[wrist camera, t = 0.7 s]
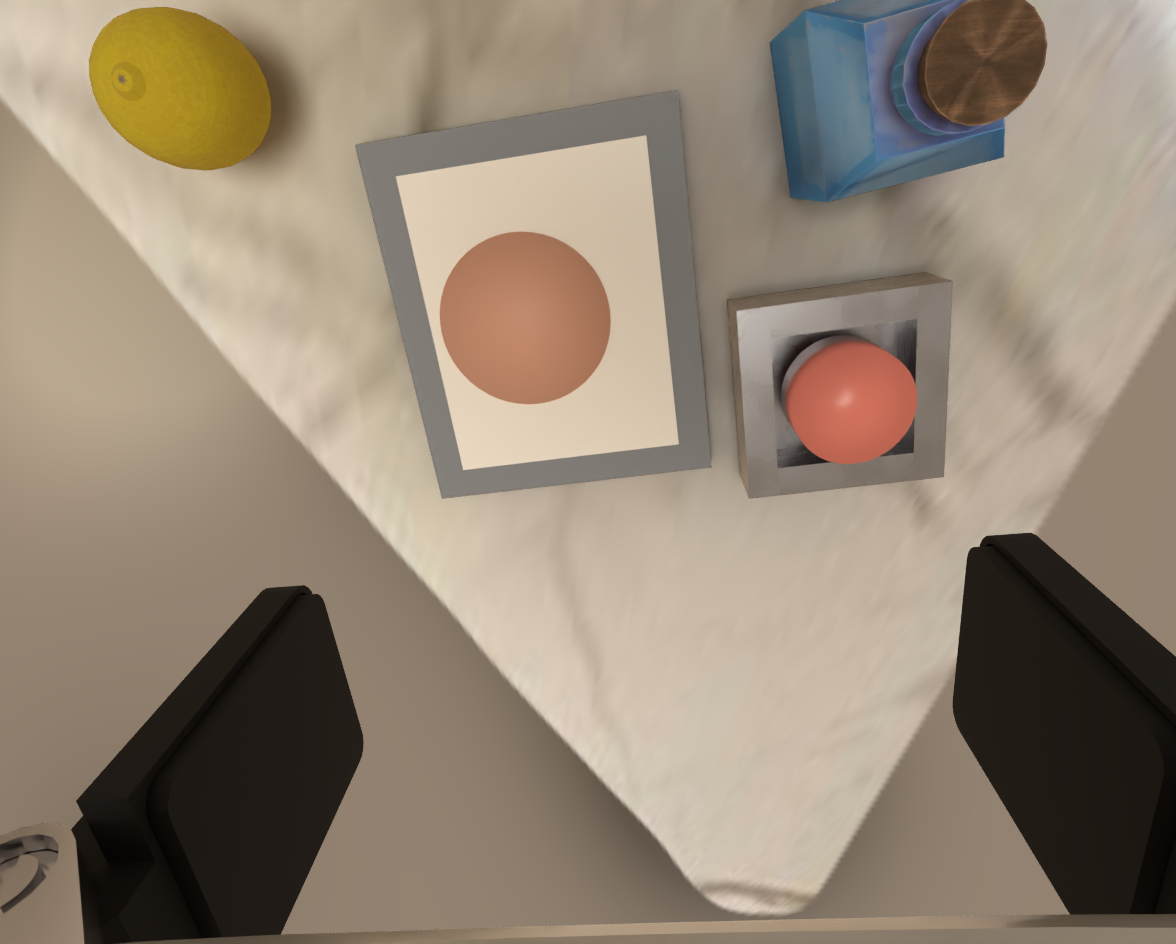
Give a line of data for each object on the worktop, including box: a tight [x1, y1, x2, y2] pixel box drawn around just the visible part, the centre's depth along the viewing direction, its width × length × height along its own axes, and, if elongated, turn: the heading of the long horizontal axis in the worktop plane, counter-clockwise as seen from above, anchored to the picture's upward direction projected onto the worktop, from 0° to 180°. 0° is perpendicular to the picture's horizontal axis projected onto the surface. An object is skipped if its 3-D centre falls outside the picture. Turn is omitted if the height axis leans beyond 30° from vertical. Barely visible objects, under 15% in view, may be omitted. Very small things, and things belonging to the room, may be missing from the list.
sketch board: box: [355, 90, 711, 499], centre depth 34 cm, size 17×14×1 cm
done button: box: [781, 335, 917, 464], centre depth 32 cm, size 5×5×3 cm
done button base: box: [727, 272, 953, 499], centre depth 33 cm, size 9×9×3 cm
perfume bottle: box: [770, 0, 1047, 202], centre depth 25 cm, size 6×6×12 cm
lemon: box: [89, 7, 271, 170], centre depth 28 cm, size 6×6×8 cm
